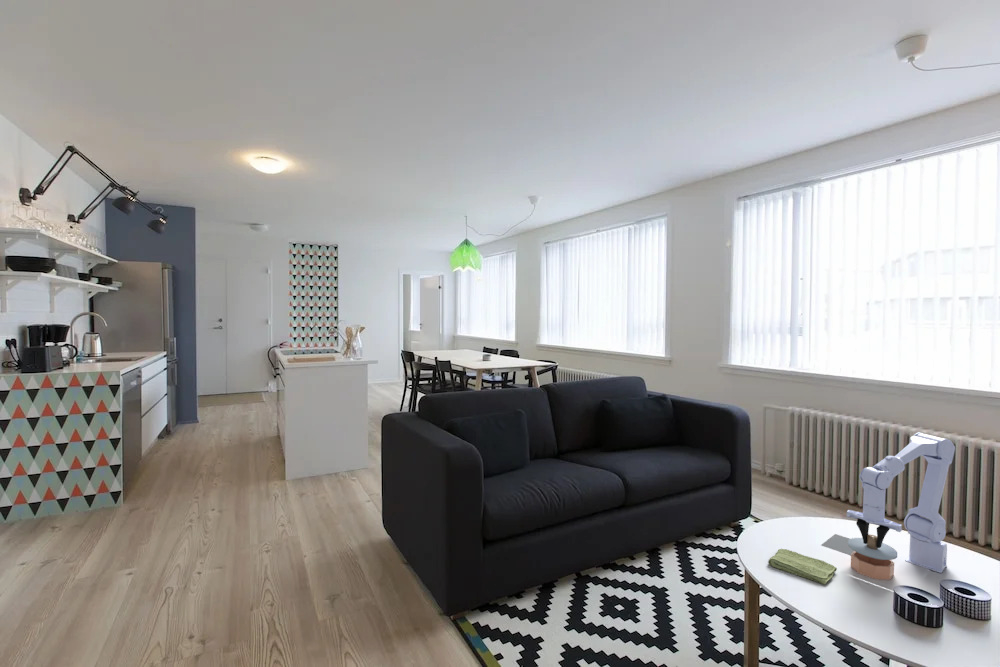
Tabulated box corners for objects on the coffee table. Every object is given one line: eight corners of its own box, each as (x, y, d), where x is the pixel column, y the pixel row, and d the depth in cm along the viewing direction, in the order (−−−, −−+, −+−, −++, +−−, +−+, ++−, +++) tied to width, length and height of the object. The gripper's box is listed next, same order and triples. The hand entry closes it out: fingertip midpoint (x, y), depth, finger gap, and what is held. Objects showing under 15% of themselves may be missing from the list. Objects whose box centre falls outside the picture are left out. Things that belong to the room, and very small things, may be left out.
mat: (879, 549, 177) (879, 548, 177) (866, 561, 168) (866, 560, 168) (835, 534, 188) (835, 533, 188) (820, 546, 179) (821, 545, 179)
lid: (901, 551, 161) (902, 538, 161) (891, 564, 153) (892, 550, 153) (854, 536, 171) (855, 524, 171) (842, 548, 163) (843, 535, 163)
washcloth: (827, 588, 153) (827, 578, 153) (766, 566, 166) (766, 557, 166) (837, 572, 162) (838, 563, 162) (779, 553, 175) (779, 544, 175)
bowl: (896, 572, 161) (897, 559, 161) (886, 584, 155) (887, 570, 154) (858, 559, 170) (858, 547, 169) (847, 569, 163) (847, 556, 163)
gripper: (843, 500, 164) (842, 540, 165) (897, 515, 153) (896, 557, 154) (851, 495, 169) (849, 534, 170) (904, 509, 157) (902, 550, 158)
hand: (872, 544), depth 162 cm, fingers closed on lid, 3 cm apart
